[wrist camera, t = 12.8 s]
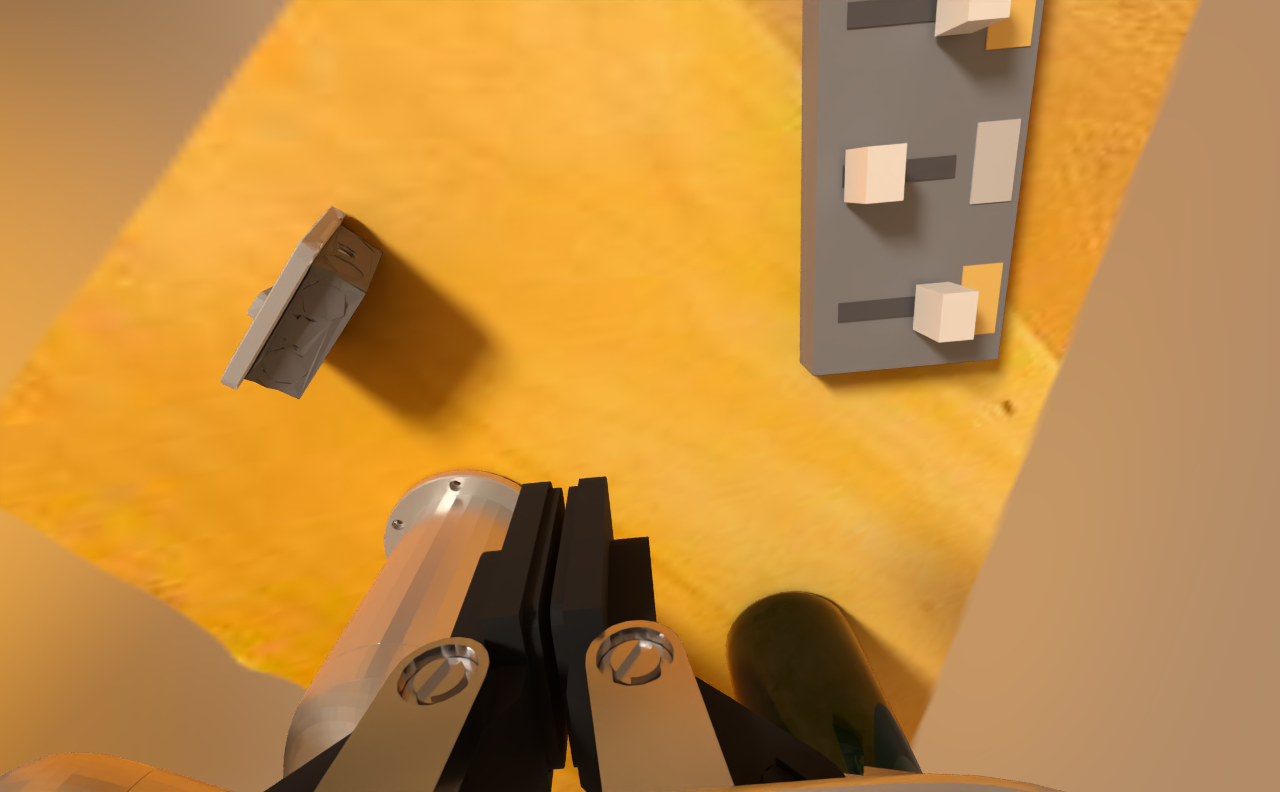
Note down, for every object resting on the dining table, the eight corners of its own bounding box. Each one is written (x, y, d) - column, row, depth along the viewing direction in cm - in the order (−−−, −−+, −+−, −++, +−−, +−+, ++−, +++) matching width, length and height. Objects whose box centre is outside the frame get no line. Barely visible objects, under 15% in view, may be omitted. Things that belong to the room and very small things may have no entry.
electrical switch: (336, 202, 36) (264, 221, 28) (411, 253, 38) (365, 286, 30) (267, 319, 39) (182, 369, 30) (341, 362, 40) (280, 422, 32)
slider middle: (878, 198, 34) (903, 200, 31) (843, 202, 34) (865, 203, 31) (880, 146, 33) (907, 142, 30) (845, 149, 33) (868, 146, 30)
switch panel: (971, 346, 41) (998, 359, 38) (799, 362, 41) (813, 376, 38) (1019, -71, 33) (1057, -96, 30) (803, -51, 33) (821, -74, 30)
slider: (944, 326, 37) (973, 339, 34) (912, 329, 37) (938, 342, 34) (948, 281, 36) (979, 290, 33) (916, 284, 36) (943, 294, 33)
